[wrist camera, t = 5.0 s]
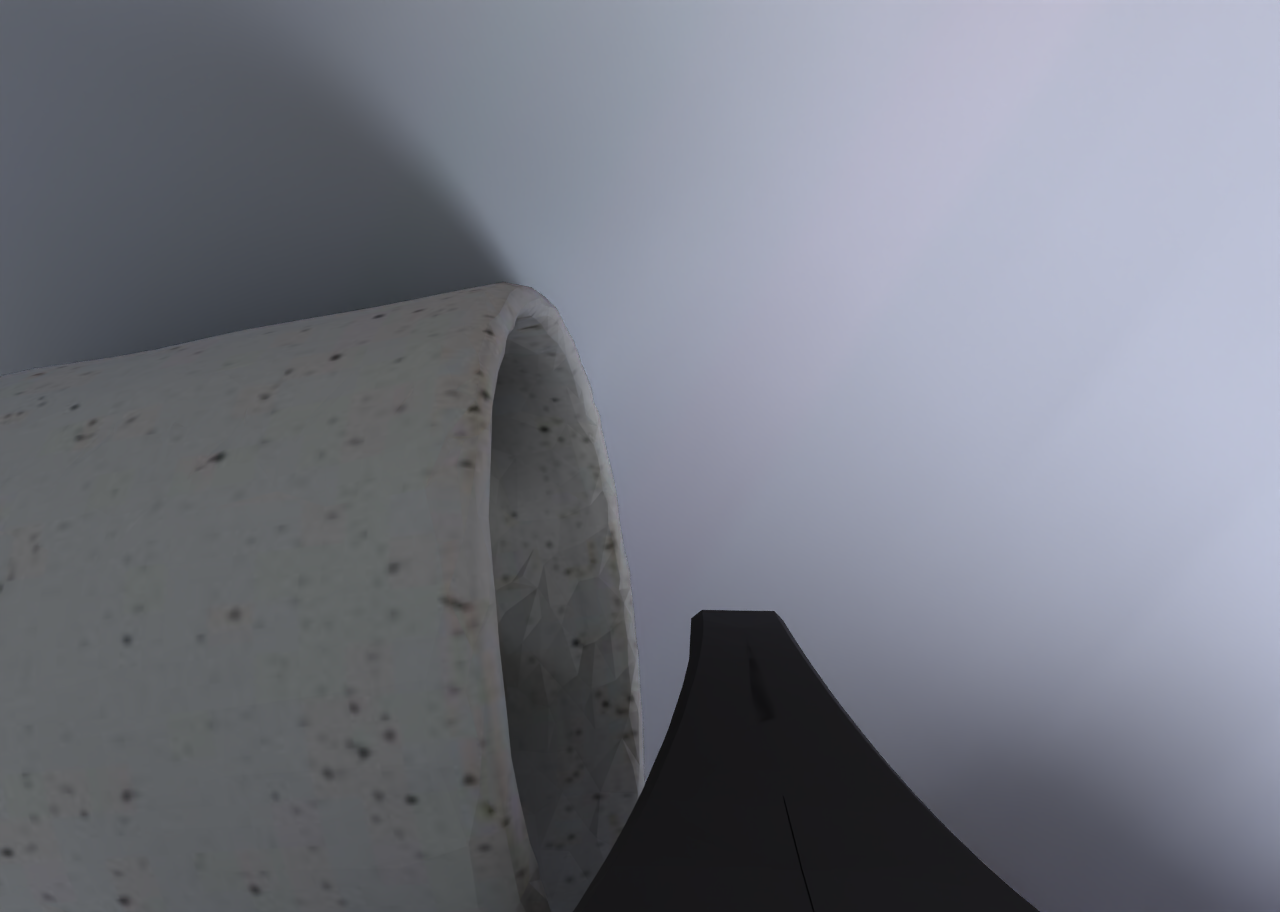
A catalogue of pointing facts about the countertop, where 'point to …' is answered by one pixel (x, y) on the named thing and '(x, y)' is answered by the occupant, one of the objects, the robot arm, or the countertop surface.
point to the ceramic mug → (316, 620)
